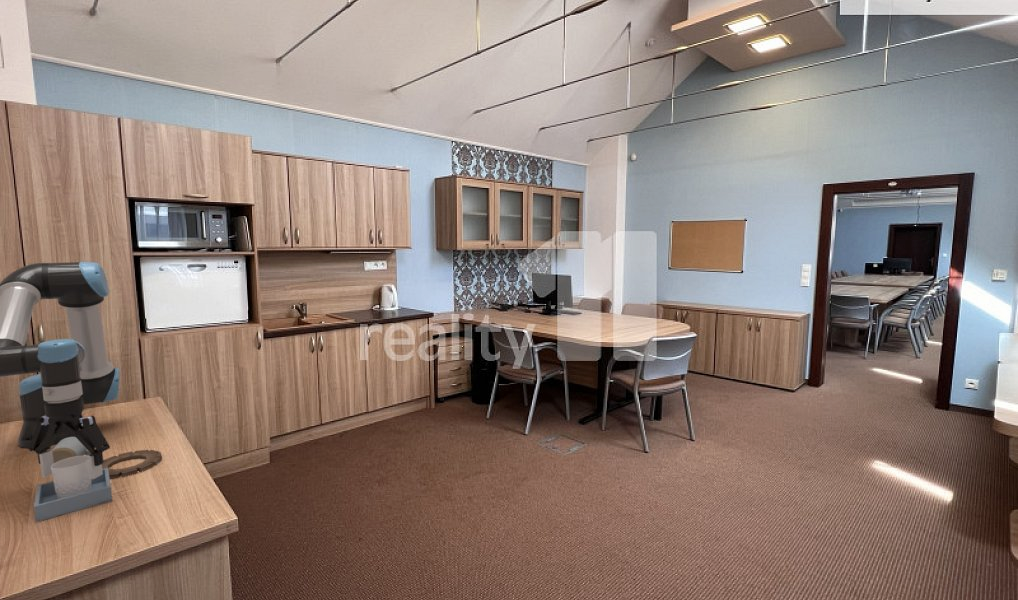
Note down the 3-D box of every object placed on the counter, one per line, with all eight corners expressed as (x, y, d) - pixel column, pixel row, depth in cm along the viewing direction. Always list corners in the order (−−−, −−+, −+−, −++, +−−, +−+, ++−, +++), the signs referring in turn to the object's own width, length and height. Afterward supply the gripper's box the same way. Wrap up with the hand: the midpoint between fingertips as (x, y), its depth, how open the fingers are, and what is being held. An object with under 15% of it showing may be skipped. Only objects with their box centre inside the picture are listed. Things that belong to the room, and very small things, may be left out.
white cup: (47, 502, 126) (42, 466, 125) (81, 488, 133) (77, 453, 132) (68, 507, 124) (64, 470, 123) (101, 492, 131) (97, 457, 130)
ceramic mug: (46, 472, 144) (43, 448, 143) (57, 461, 151) (55, 438, 150) (91, 466, 148) (89, 442, 147) (100, 455, 156) (98, 433, 155)
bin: (39, 498, 129) (37, 484, 129) (109, 480, 139) (108, 467, 138) (35, 522, 118) (33, 506, 118) (112, 500, 128) (110, 486, 127)
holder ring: (90, 464, 149) (90, 460, 149) (158, 448, 160) (157, 445, 160) (92, 485, 136) (91, 481, 136) (164, 466, 148) (164, 462, 148)
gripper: (3, 402, 122) (13, 481, 125) (96, 404, 121) (104, 484, 123) (33, 393, 130) (42, 468, 132) (121, 395, 128) (129, 470, 131)
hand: (72, 476), depth 128 cm, fingers open, 13 cm apart
